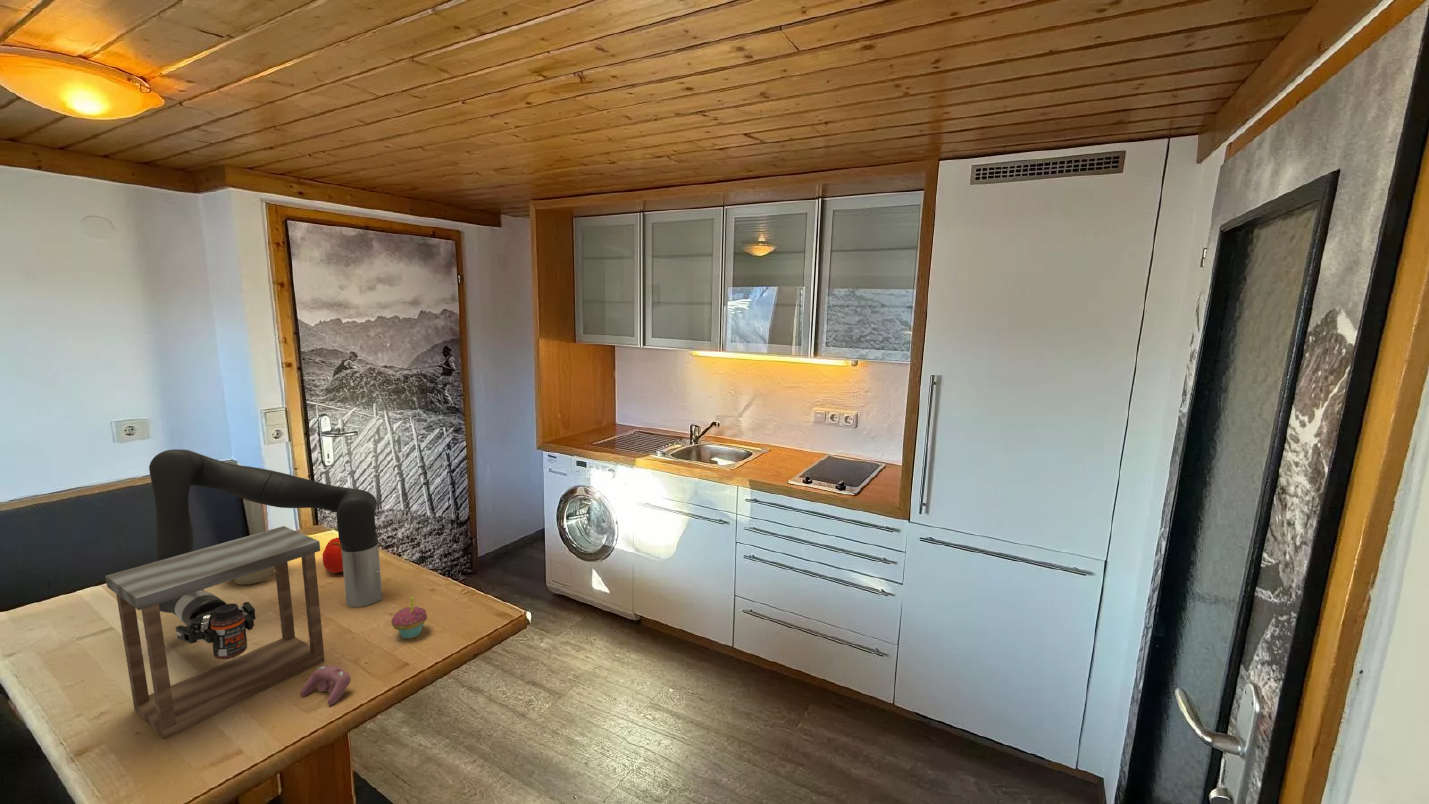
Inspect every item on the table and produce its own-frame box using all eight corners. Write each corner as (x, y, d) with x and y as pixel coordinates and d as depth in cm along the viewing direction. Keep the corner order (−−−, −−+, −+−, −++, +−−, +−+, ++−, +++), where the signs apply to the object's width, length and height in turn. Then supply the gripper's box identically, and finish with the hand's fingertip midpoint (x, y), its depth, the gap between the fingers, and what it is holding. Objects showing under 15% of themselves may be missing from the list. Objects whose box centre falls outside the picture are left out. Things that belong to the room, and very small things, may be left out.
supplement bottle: (228, 662, 126) (222, 616, 124) (206, 658, 127) (201, 612, 125) (254, 647, 132) (249, 603, 130) (234, 643, 133) (229, 599, 131)
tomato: (319, 568, 188) (317, 538, 186) (365, 556, 197) (362, 528, 195) (328, 583, 178) (325, 552, 176) (375, 570, 187) (373, 540, 186)
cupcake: (435, 630, 155) (432, 589, 153) (406, 646, 147) (404, 604, 145) (413, 622, 158) (411, 582, 156) (385, 637, 151) (382, 596, 149)
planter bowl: (260, 591, 172) (256, 558, 170) (208, 589, 172) (203, 556, 170) (299, 567, 188) (296, 536, 186) (251, 565, 188) (248, 535, 186)
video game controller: (346, 703, 128) (357, 670, 130) (329, 706, 124) (340, 672, 126) (315, 693, 131) (325, 660, 133) (296, 696, 127) (307, 663, 129)
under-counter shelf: (127, 712, 121) (105, 575, 116) (295, 638, 149) (283, 526, 144) (158, 743, 113) (136, 598, 108) (330, 659, 141) (319, 541, 135)
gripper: (159, 609, 129) (190, 632, 121) (236, 583, 141) (269, 603, 133) (163, 639, 130) (194, 664, 122) (239, 611, 142) (272, 632, 134)
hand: (233, 632), depth 127 cm, fingers closed on supplement bottle, 6 cm apart
